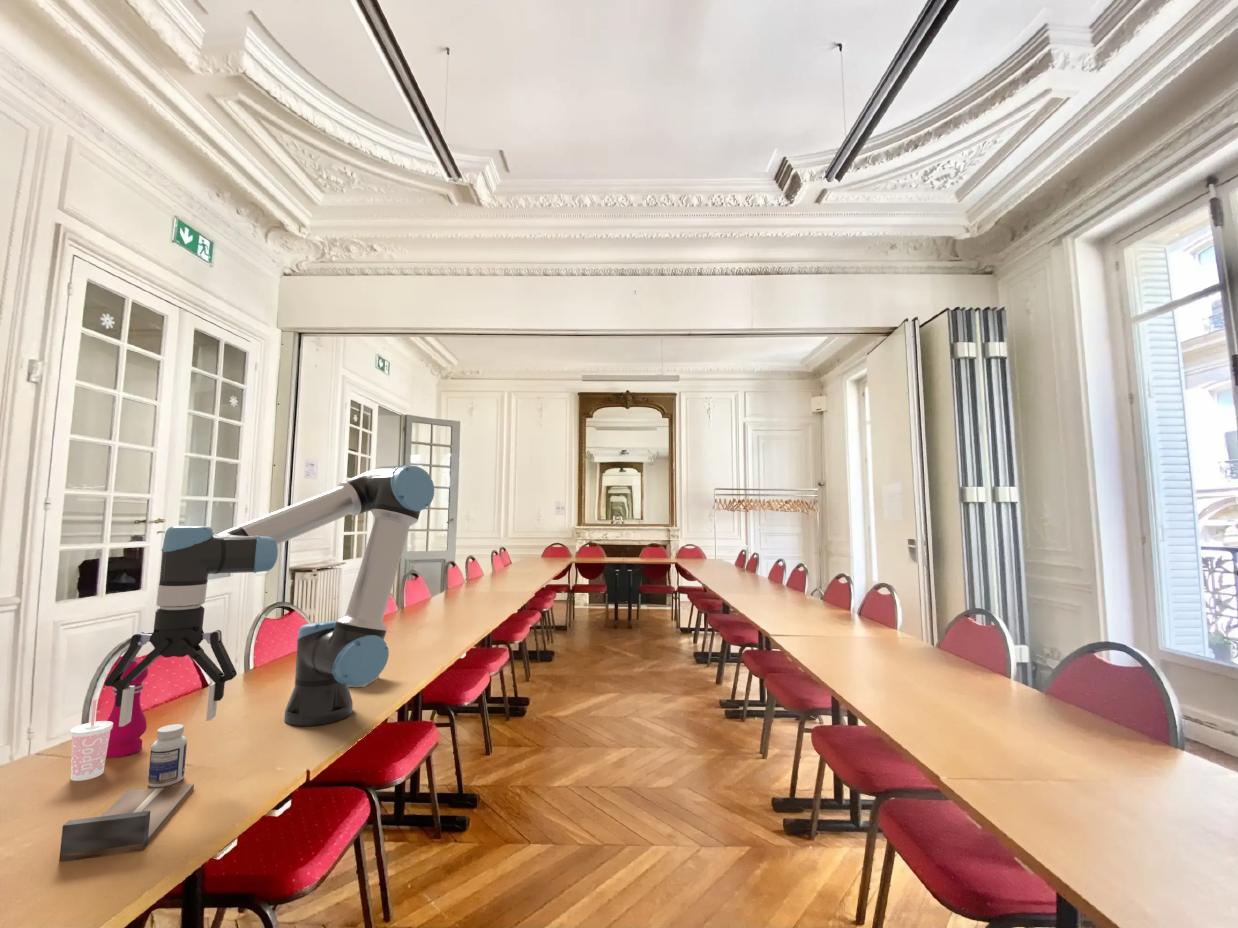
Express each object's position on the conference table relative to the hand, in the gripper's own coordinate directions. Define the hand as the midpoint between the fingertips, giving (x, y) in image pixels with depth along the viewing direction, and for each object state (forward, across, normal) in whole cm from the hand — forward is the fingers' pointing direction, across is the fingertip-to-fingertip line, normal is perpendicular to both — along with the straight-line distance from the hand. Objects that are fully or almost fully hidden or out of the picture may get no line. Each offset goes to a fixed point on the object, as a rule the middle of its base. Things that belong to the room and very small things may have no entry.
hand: (168, 721), depth 108 cm
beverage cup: (+11, +14, -7) cm, 20 cm away
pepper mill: (+11, +14, -18) cm, 25 cm away
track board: (+11, -2, +15) cm, 18 cm away
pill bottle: (+11, 0, 0) cm, 11 cm away
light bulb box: (+10, -28, -59) cm, 67 cm away
